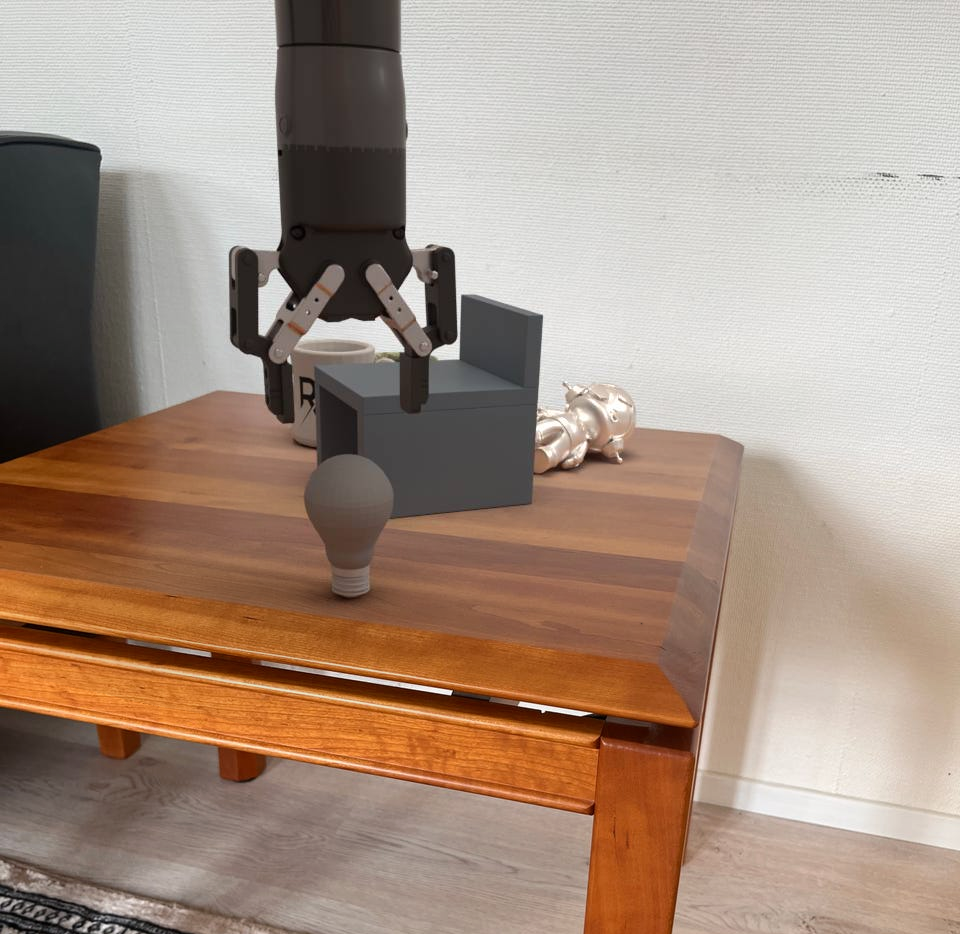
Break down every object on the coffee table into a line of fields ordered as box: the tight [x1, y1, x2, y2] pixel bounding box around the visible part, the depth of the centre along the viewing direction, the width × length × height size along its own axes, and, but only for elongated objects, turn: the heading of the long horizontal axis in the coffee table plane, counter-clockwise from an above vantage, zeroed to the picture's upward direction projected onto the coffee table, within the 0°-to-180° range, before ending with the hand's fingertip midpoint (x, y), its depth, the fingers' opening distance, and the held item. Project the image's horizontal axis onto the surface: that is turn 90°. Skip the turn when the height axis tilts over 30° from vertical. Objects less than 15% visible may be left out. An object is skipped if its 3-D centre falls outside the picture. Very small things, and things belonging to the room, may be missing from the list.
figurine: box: [534, 380, 637, 474], centre depth 105 cm, size 11×7×15 cm
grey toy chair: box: [314, 293, 544, 519], centre depth 92 cm, size 16×14×16 cm
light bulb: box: [303, 454, 393, 598], centre depth 70 cm, size 6×6×10 cm
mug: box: [289, 338, 395, 448], centre depth 108 cm, size 12×9×10 cm
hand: (348, 416), depth 67 cm, fingers open, 8 cm apart
